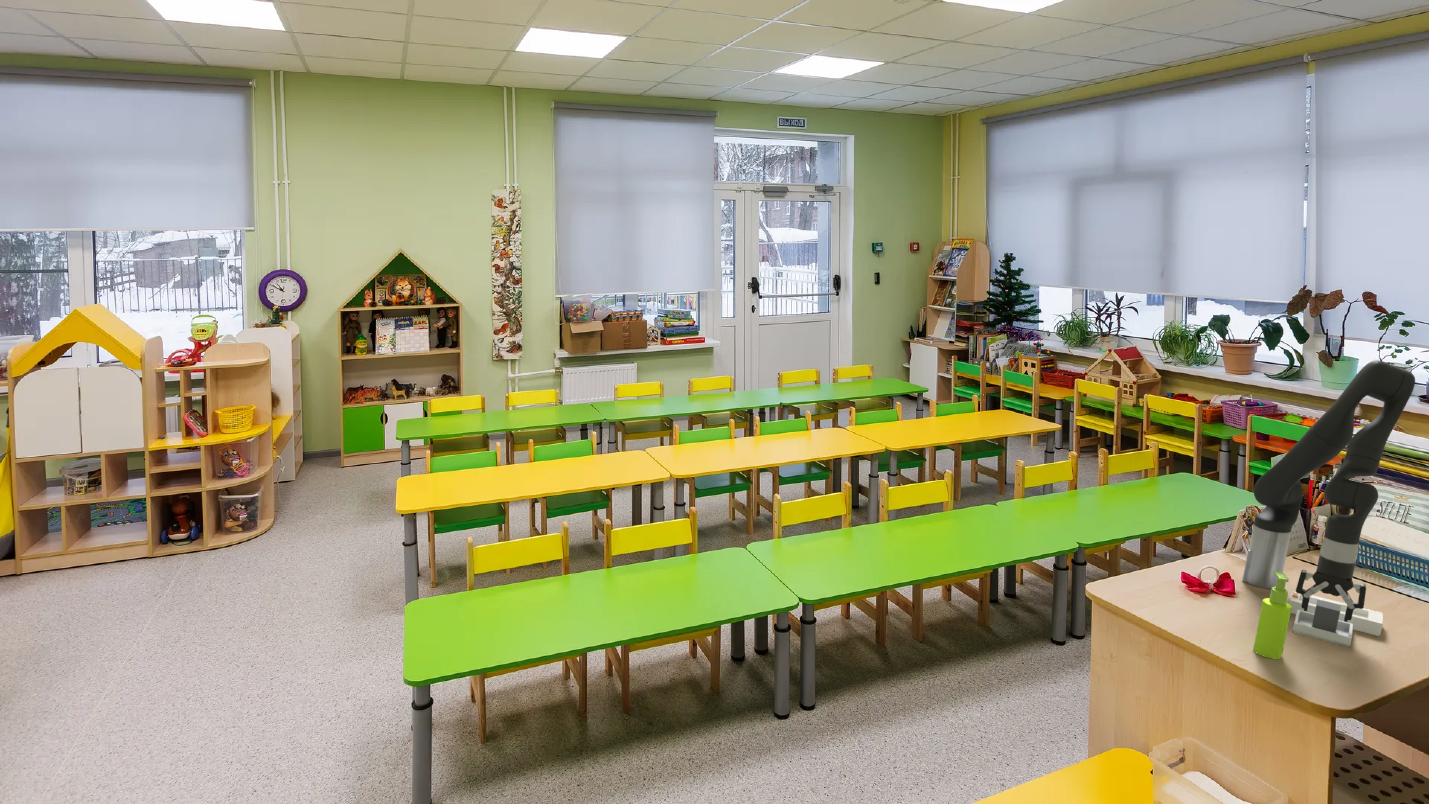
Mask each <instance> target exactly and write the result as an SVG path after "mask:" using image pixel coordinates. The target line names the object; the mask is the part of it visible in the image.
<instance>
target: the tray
mask: <svg viewBox="0 0 1429 804" xmlns="http://www.w3.org/2000/svg"><path fill="white" fill-rule="evenodd" d="M1313 619H1314V614H1313V613H1309V612H1305V611H1301V610H1297V614H1295V619H1294V623H1293V627H1292V633H1295V634H1298V635H1302V636H1304V637H1305V636H1306V637H1309V638H1313V639H1317V640H1319V641H1324V642H1327V643H1331V644H1335V645H1339V646H1342V647H1346V648H1348V649H1349V648H1351V644H1352V640H1353V639H1352V638H1353V631H1354V630H1353V624H1351V623H1347V622H1344V621H1340V620H1338V624H1337V628H1336V633H1333V632H1329V631H1325V630H1321V629H1318V628H1314V627H1312V623H1313Z"/></svg>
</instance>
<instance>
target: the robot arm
mask: <svg viewBox="0 0 1429 804" xmlns="http://www.w3.org/2000/svg"><path fill="white" fill-rule="evenodd" d="M1415 384H1416V377H1415V375H1414V374H1413V373H1412V372H1411V371H1409V370H1407V369H1403V368H1401V367H1399V366H1396V365H1393V364H1391V363H1387V362H1384V361H1383V360H1379V359H1377V360H1374V359H1373V360H1372V361H1369V362H1368V363H1367V364H1365V365H1364V366H1363V367H1362V368H1361V369H1360V370H1359V371H1358V372H1357V373H1356V375H1355V376H1354V377H1353V379H1352V380H1351V381H1350V383H1349V384H1348V385H1347V387H1345V389H1344V390H1343V391H1342V393H1341V394H1340V395H1339V397H1338V398H1337V399H1336V400H1335V401H1334V402H1333V404H1332V405H1331V406H1330V407H1329V408H1328V409H1327V410H1326V411H1325V412H1324V413H1323V414H1322V415H1321V416H1320V417H1319V419H1317V421H1316V422H1314V423H1313V424H1312V426H1311V427H1310V428H1309V429H1308V430H1307V431H1306V432H1305V433H1304V434H1303V436H1302V437H1301V438H1299V440H1298V441H1297V442H1296V443H1295V444H1294V445H1293V446H1292V447H1291V449H1289V450H1288V452H1287V453H1286V454H1285V455H1284V456H1283V457H1282V458H1281V459H1280V460H1279V461H1278V462H1277V463H1276V464H1274V465H1273V466H1272V467H1271V468H1270V469H1268V470H1267V471H1266V472H1265V473H1264V474H1263V475H1261V476H1260V477H1259V478H1258V479H1257V480H1256V482H1255V485H1254V487H1253V495H1254V498H1255V500H1256V501H1257V502H1258V503H1259V504H1260V505H1262V506H1265V508H1263V510H1262V511H1260V512H1259V513H1257V514H1256V515H1255V517H1254V520H1253V526H1252V532H1251V536H1250V541H1249V548H1248V550H1247V555H1246V561H1245V565H1244V570H1243V574H1242V575H1243V576H1242V582H1246V583H1248V584H1250V585H1253V586H1256V587H1260V588H1263V589H1270V590H1271V589H1272V587H1275V586H1276V585H1277V580H1278V578H1277V577H1276V575H1275V574H1273V572H1279V573H1284V570H1285V569H1284V568H1285V564H1286V558H1287V554H1288V548H1289V543H1290V537H1291V533H1292V528H1293V527H1294V525H1295V523H1296V522H1297V520H1298V517H1299V514H1300V510H1301V505H1302V501H1303V495H1304V487H1303V484H1302V482H1301V479H1302V478H1304V477H1305V476H1307V475H1309V474H1310V473H1311V472H1314V471H1315V470H1318V469H1319V468H1321V467H1322V466H1324V465H1326V464H1328V463H1329V462H1331V460H1333V459H1335V457H1337V456H1338V455H1339V454H1340V453H1341V452H1342V451H1343V450H1344V449H1345V448H1346V447H1348V448H1347V450H1346V452H1345V456H1344V459H1343V461H1342V463H1341V465H1340V467H1339V468H1338V470H1337V471H1336V473H1335V474H1334V475H1333V476H1332V478H1331V479H1330V480H1329V482H1328V483H1327V485H1326V486H1325V489H1324V499H1325V500H1326V502H1327V503H1328V504H1330V505H1333V506H1336V507H1341V508H1346V509H1351V510H1354V511H1355V513H1354V514H1333V515H1330V516H1329V518H1328V520H1327V522H1326V523H1327V524H1326V529H1325V533H1324V537H1323V541H1322V543H1321V545H1320V549H1319V557H1318V560H1317V565H1316V571H1315V572H1314V573H1312V572H1310V571H1307V570H1306V569H1301V571H1300V574H1299V578H1298V581H1297V585H1296V588H1295V591H1296V592H1297V593H1299V594H1301V595H1302V596H1303V600H1302V605H1301V607H1302V608H1303V609H1304V611H1306V612H1307V608H1308V604H1309V599H1310V596H1311V595H1313V596H1314V594H1315V595H1316V594H1317V593H1318V592H1321V593H1322V594H1327V595H1332V596H1334V597H1339V596H1340V597H1341V598H1342V600H1343V602H1344V603H1345V604H1347V608H1346V613H1345V617H1344V621H1345V622H1347V621H1348V620H1351V619H1352V614H1353V610H1354V609H1356V608H1359V609H1363V608H1364V607H1365V600H1366V591H1367V584H1365V583H1361V584H1360V583H1354V581H1353V578H1354V572H1355V569H1356V563H1357V560H1358V553H1359V544H1360V539H1361V534H1362V530H1363V526H1364V523H1365V521H1366V520H1367V518H1368V517H1369V515H1370V513H1371V512H1372V510H1373V508H1374V507H1375V506H1376V505H1377V501H1378V499H1379V491H1378V489H1377V487H1375V486H1374V485H1373V484H1370V483H1366V482H1360V481H1357V480H1356V481H1355V480H1353V478H1355V477H1372V476H1374V475H1376V473H1377V472H1378V469H1379V466H1380V462H1381V458H1382V455H1383V453H1384V450H1385V447H1386V444H1387V442H1388V439H1389V438H1390V435H1391V433H1392V431H1393V430H1394V427H1395V426H1396V424H1397V423H1398V421H1399V419H1400V417H1401V415H1402V413H1403V412H1404V409H1405V407H1406V406H1407V404H1408V402H1409V400H1410V398H1411V396H1412V394H1413V392H1414V388H1415ZM1365 397H1370V398H1373V399H1375V400H1377V401H1381V402H1383V407H1382V410H1381V411H1380V413H1379V415H1378V416H1376V417H1375V419H1373V420H1372V421H1371V422H1369V423H1368V424H1367V425H1365V426H1363V427H1361V429H1359V430H1358V431H1357V432H1356V433H1355V434H1354V432H1355V431H1354V430H1355V414H1356V413H1355V412H1356V410H1357V407H1358V405H1359V404H1360V403H1361V401H1362V400H1364V398H1365ZM1311 578H1312V580H1313V581H1314V583H1315V584H1313V585H1311V586H1310V587H1309V588H1307V589H1305V588H1303V587H1304V584H1305V581H1309V580H1310V579H1311ZM1352 589H1355V592H1356V593H1358V599H1357V601H1354V600H1353V599H1352V597H1351V595H1350V594H1349V591H1350V590H1352Z"/></svg>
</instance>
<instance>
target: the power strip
mask: <svg viewBox="0 0 1429 804" xmlns="http://www.w3.org/2000/svg"><path fill="white" fill-rule="evenodd" d="M1317 599H1318V600H1322V601H1326V602H1330V603H1334V604H1338V605H1341V609H1340V615H1339V619H1338V620H1340V621H1344V617H1345V613H1346V608H1347V604H1346V602H1342V601H1337V600H1334V599H1328V598H1324V597H1321V596H1317V595H1314V594H1313V595H1311V596H1310V599H1309V604H1308V608H1307V612H1309V613H1313V614H1315V609H1316V604H1317ZM1302 600H1303V596H1302V595H1301V594H1299V593H1297V592H1296V590H1292V593H1291V597H1290V600H1289V604H1290V605H1291V606H1292V609H1291V615H1296V614H1297V610H1301V611H1304V609H1303V608H1302V607H1301V605H1302ZM1305 612H1306V611H1305ZM1383 617H1384V614H1383V612H1381V611H1377V610H1373V609H1368V608H1363V609H1359V608H1356V609H1354V610H1353V614H1352V619H1351V620H1348V621H1347V623H1351V624H1353V630H1352V631H1358V632H1362V633H1364V634H1365V633H1366V634H1370V635H1373V636H1377V637H1381V634H1382V629H1383V624H1384V619H1383ZM1344 622H1345V621H1344Z"/></svg>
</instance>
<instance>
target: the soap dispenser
mask: <svg viewBox="0 0 1429 804" xmlns="http://www.w3.org/2000/svg"><path fill="white" fill-rule="evenodd" d="M1273 574H1275V575H1276V577H1277V578H1278V580H1277V585H1276V586H1275V587H1272V589H1270V595H1269V597H1267V598H1266V597H1265V598H1263V599H1262V602H1261V608H1260V612H1259V617H1258V623H1257V627H1256V634H1255V638H1254V639H1255V640H1254V643H1253V650H1254V651H1255V652H1257V653H1258V654H1260V655H1264V656H1265V657H1264V658H1266V657H1269V658H1268V659H1270V658H1275V659H1274V660H1281V659H1282V657H1283V654H1284V646H1285V643H1286V642H1285V641H1286V637H1287V633H1288V632H1287V631H1288V627H1289V623H1290V619H1291V618H1290V617H1291V615H1292V613H1291V609H1292V606H1291V605H1290V603H1289V602H1287V599H1288V596H1289V595H1288V594H1289V590H1287V588H1286V583H1289V580H1290V579H1289V578H1288V577H1287V575H1286V574H1285V573H1284V572H1283V573H1279V572H1273ZM1253 650H1252V651H1253ZM1254 651H1253V652H1254ZM1255 652H1254V653H1255ZM1257 653H1256V654H1257ZM1258 654H1257V655H1258ZM1260 655H1259V656H1260Z"/></svg>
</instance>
